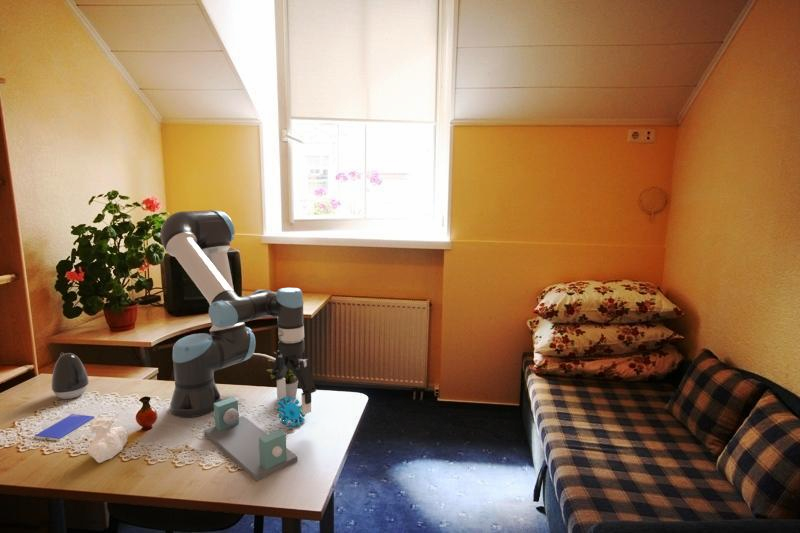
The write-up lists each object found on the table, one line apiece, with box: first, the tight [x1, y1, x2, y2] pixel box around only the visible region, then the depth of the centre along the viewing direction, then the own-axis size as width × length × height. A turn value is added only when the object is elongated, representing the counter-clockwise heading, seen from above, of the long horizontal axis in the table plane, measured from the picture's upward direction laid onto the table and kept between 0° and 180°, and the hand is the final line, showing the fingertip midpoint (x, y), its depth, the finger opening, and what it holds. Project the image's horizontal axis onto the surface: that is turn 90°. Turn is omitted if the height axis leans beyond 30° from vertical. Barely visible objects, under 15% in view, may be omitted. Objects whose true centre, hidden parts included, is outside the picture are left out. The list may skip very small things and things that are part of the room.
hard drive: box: [33, 413, 96, 442], centre depth 134 cm, size 2×8×12 cm
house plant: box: [266, 351, 299, 401], centre depth 157 cm, size 14×14×16 cm
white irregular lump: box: [86, 416, 129, 464], centre depth 121 cm, size 12×8×11 cm
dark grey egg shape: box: [51, 352, 89, 400], centre depth 153 cm, size 10×10×15 cm
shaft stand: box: [203, 396, 299, 482], centre depth 125 cm, size 31×12×9 cm, turn 47°
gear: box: [276, 396, 307, 428], centre depth 140 cm, size 11×6×10 cm
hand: (293, 405), depth 139 cm, fingers open, 13 cm apart
